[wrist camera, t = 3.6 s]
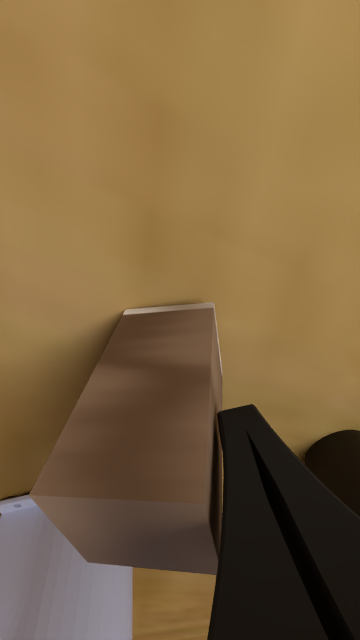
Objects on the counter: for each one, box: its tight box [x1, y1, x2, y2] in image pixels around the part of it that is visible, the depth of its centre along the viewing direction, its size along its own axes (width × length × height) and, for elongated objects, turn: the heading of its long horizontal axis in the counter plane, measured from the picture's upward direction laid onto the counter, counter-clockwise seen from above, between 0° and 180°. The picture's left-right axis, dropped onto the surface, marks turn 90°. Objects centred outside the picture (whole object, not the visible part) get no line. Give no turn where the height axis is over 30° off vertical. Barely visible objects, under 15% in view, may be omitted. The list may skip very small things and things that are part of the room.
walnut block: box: [29, 302, 222, 575], centre depth 12 cm, size 4×4×9 cm
